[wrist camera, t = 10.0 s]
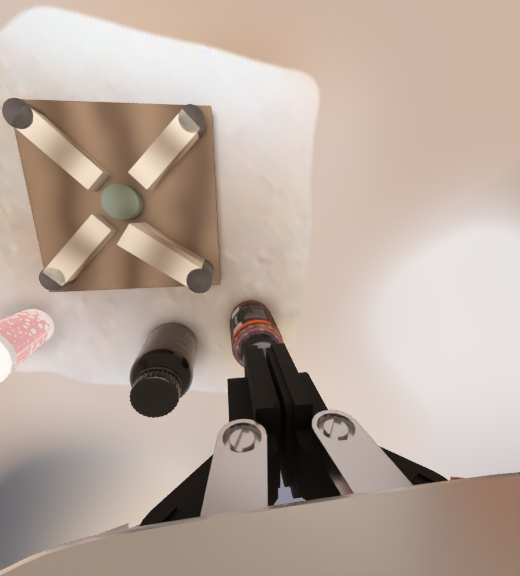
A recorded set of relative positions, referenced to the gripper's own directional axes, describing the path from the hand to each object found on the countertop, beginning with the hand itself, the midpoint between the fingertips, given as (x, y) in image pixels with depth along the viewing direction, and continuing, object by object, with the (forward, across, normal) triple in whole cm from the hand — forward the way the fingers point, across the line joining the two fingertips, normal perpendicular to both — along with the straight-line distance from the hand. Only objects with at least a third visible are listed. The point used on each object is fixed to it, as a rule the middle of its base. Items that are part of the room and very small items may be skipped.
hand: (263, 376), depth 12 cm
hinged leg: (+24, +7, -2) cm, 25 cm away
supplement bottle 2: (+27, -2, +8) cm, 29 cm away
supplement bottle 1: (+27, +9, +11) cm, 31 cm away
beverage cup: (+27, +26, +7) cm, 38 cm away
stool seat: (+27, +12, -8) cm, 31 cm away
